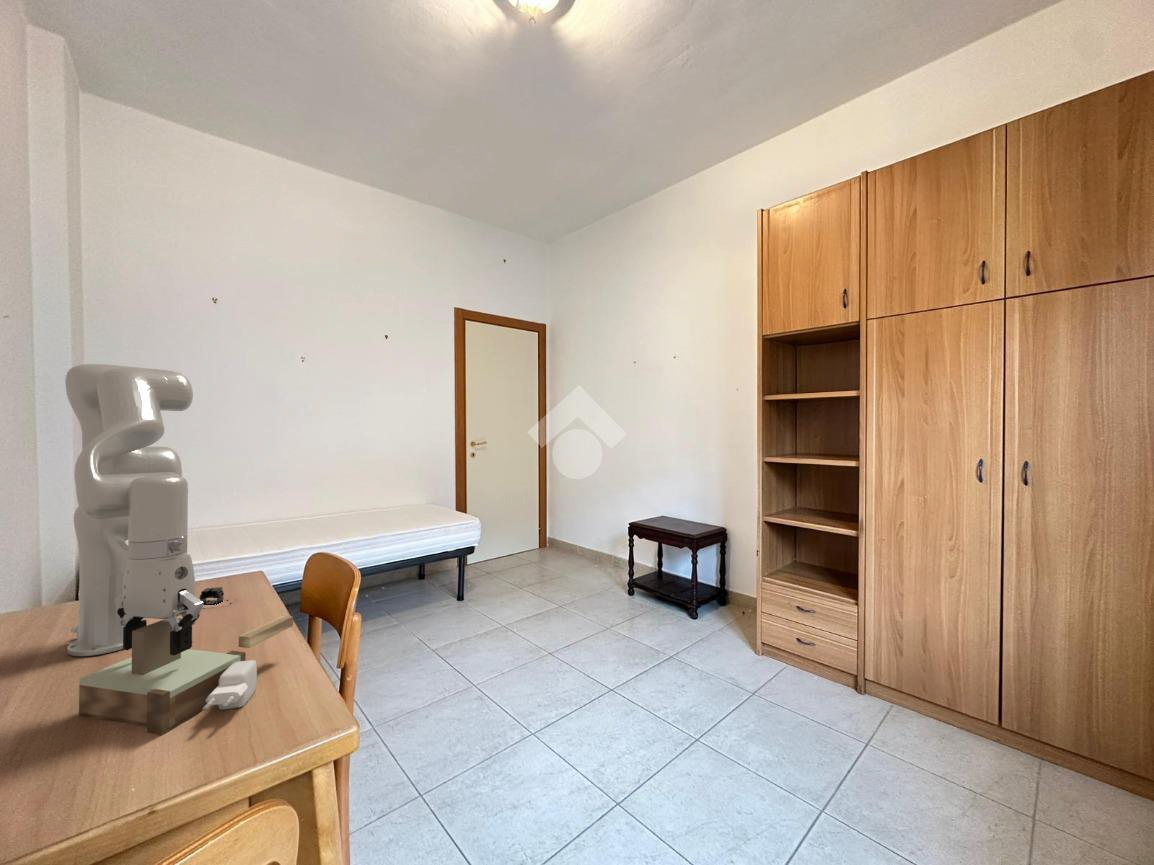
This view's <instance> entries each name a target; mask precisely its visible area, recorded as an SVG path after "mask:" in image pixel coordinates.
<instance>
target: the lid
mask: <svg viewBox="0 0 1154 865" xmlns="http://www.w3.org/2000/svg"><path fill="white" fill-rule="evenodd" d="M177 618H178V620H179V621H181V619H182V618H181V617H177ZM173 630H174V629H173V628H172V626H171V625H170V623H169V621H168V620H167V619H160V620H159V621H155V622H153V623H150V624H147V626H145V627H142V628H139V629H136V630H134V631H132V649H131V657H128V658H126V659H124V660H121V661H119V662H117V663H114V664H112V665H109V666H106V667H105V668H102V669H99V670H97V671H94V672H92V673H90V674H87V675H85V676H82V677H80V678H79V679H78V680H79V681H78V682H79V683H78V686H79V685H83V686H90V687H97V688H104V689H111V690H117V691H124V692H131V693H138V694H144V695H147V692H149V691H151V690H153V689H159V690H166V691H170V698H171V697H173V696H175V695H177V694H179V693H181V692H183V691H185V690H186V689H188V688H190V687H192V686H194V685H196V684H198V683H200V682H202V681H204V680H205V679H207V678H209V677H211V676H213V675H215V674H217V673H219V672H221V671H222V670H224V669H226V668H228V667H229V666H230V665H232V664H233V663H234V662H239V661H241V655H233V654H227V653H224V652H217V651H207V650H198V649H193V648H190V649H188V650H186V651H183V652H181V653H179V654H177V655H170V632H171V631H173Z"/></svg>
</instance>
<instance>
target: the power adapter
mask: <svg viewBox="0 0 1154 865" xmlns="http://www.w3.org/2000/svg"><path fill="white" fill-rule="evenodd" d="M257 677H258V664H257V661H256V660H255V659H251V660H249V659H248V660H245V661H239V662H234V663H233V664H232V665H230V666H229V667H228V668H227V669H226V670H225V671H224V672H223V673H222V675H221V676H220V679H219V685H218V686H217V687H216V689H215V690H214V691H213V692H212V693H211V694H210V695H209V696H208V697H207V699H206V702H207V704H206V705H205V706H204V707H203V708H202V712H204V713H205V712H207V711H208V710H209V708H211V707H212V706H217V705H218V708H219V710H230V709H238V708H242V707H244V706H245V705H246V704H247V702H248V701H249V700H250V699H251V698H252V697H253V696H254V694H255V692H256V690H257V685H258V684H257V683H258V682H257V680H258V678H257ZM211 705H212V706H211ZM210 706H211V707H210Z"/></svg>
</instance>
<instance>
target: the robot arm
mask: <svg viewBox="0 0 1154 865" xmlns="http://www.w3.org/2000/svg"><path fill="white" fill-rule="evenodd" d="M64 380H65V382H64V383H65V392H66V396H67V398H68V402H69V404H70V407H71V409H72V410H73V412H74V414H75V416H76V418H77V420H78V422H79V425H80V429H81V446H82V450H81V451H80V453H79V455H78V457H77V459H76V462H75V465H74V485H75V492H76V494H75V495H76V500H77V501H76V502H77V504H78V506H77V507H76V509H75V511H74V513H73V526H74V532H75V535H76V541H77V549H78V558H79V560H78V562H79V564H78V566H79V567H78V569H79V570H78V572H79V573H78V574H79V575H78V576H79V581H78V582H79V583H78V588H79V589H78V624H76V625H74V626H72V627H71V628H70V632H71V633H74V634H76V640H74V641H72V642H71V643H69V645H68V646H67V647H66V650H67V651H66V653H67V654H68V655H70V656H72V657H91V656H98V655H99V656H100V655H104V654H108V653H109V654H110V653H115V652H117V651H121V650H123V651H129V650H132V631H134V630H136V629H139V628H142V627H145V626H147V625H148V624H147V619H157V620H164V619H167V620H168V621H169V623H170V625H171V626H172V628H173V629H174V630H173V631H171V632H170V655H177V654H179V653H181V652H183V651H186V650H188V649H192V647H193V626H195V624H196V622H197V620H198V619H199V618H200V616H201V615H200V614H201V611H202V610H203V609H202V607H203V602H202V601H201V600H200V599H199V597H197V594H196V593H197V590H196V578H195V571H194V564H193V560H192V557H191V554H189V553H188V532H189V531H188V527H189V526H188V523H189V522H188V520H189V519H188V518H189V517H188V511H189V510H188V509H189V507H188V506H189V505H188V503H189V500H188V499H189V485H188V483H189V482H188V481H187V479H186V478H185V477H184V476H183V471H182V463H181V459H180V457H179V455H178V454H179V453H177V451H176V450H174V449H172V448H170V447H166V446H152V445H153V444H155V443H157V442H158V441H159V440H160V439H162V437H163V436H164V434H165V426H164V425H165V424H164V422H163V417H162V413H161V411H162V412H163V411H170V412H183V411H186V410H188V409H189V408H190V407H191V405H192V403H193V398H194V391H193V387H192V384H191V382H190V380H189V379H188V377H187V376H186V375H185V374H184V373H181V372H178V371H173V370H167V369H157V368H147V367H146V368H145V367H138V366H137V367H136V366H126V365H116V364H107V363H106V364H103V363H102V364H101V363H86V364H79V365H77V364H76V365H75V366H72V367H71V368H69V369H68V371H67V372H66V375H65V379H64ZM126 541H127V543H126ZM179 616H181V617H182V618H181V621H179V620H178V618H179ZM144 618H145V619H144ZM146 618H147V619H146Z"/></svg>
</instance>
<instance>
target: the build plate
mask: <svg viewBox="0 0 1154 865" xmlns="http://www.w3.org/2000/svg"><path fill="white" fill-rule="evenodd" d="M224 594H225V593H224V590H223V587H222V586H220V587H208V588H207V587H206V588H205V589H203V590H202V591H201V594H200V595H199V597H198V599H199V600H201V601H202V602H203V605H215V604H216V605H217V604H219V603H221V602H223V600H224ZM211 598H212V600H211Z"/></svg>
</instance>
